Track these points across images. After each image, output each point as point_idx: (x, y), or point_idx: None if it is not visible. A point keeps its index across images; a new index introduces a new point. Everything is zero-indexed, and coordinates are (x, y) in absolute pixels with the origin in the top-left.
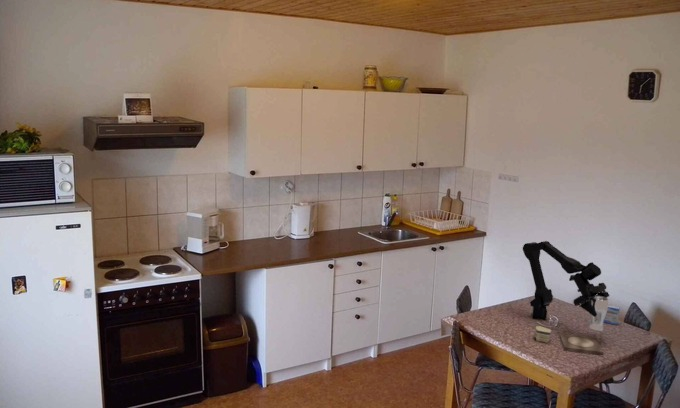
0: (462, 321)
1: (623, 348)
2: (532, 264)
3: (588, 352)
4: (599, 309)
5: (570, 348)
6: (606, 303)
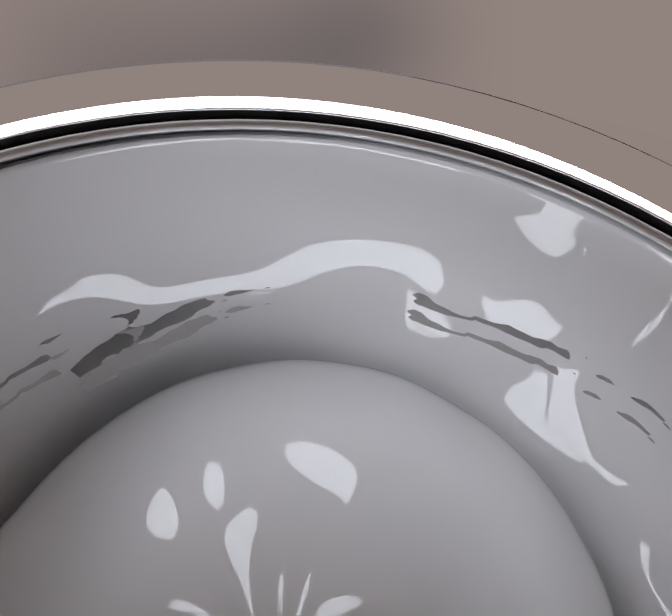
0: None
1: None
2: None
3: None
4: (582, 507)
5: None
6: (360, 220)
